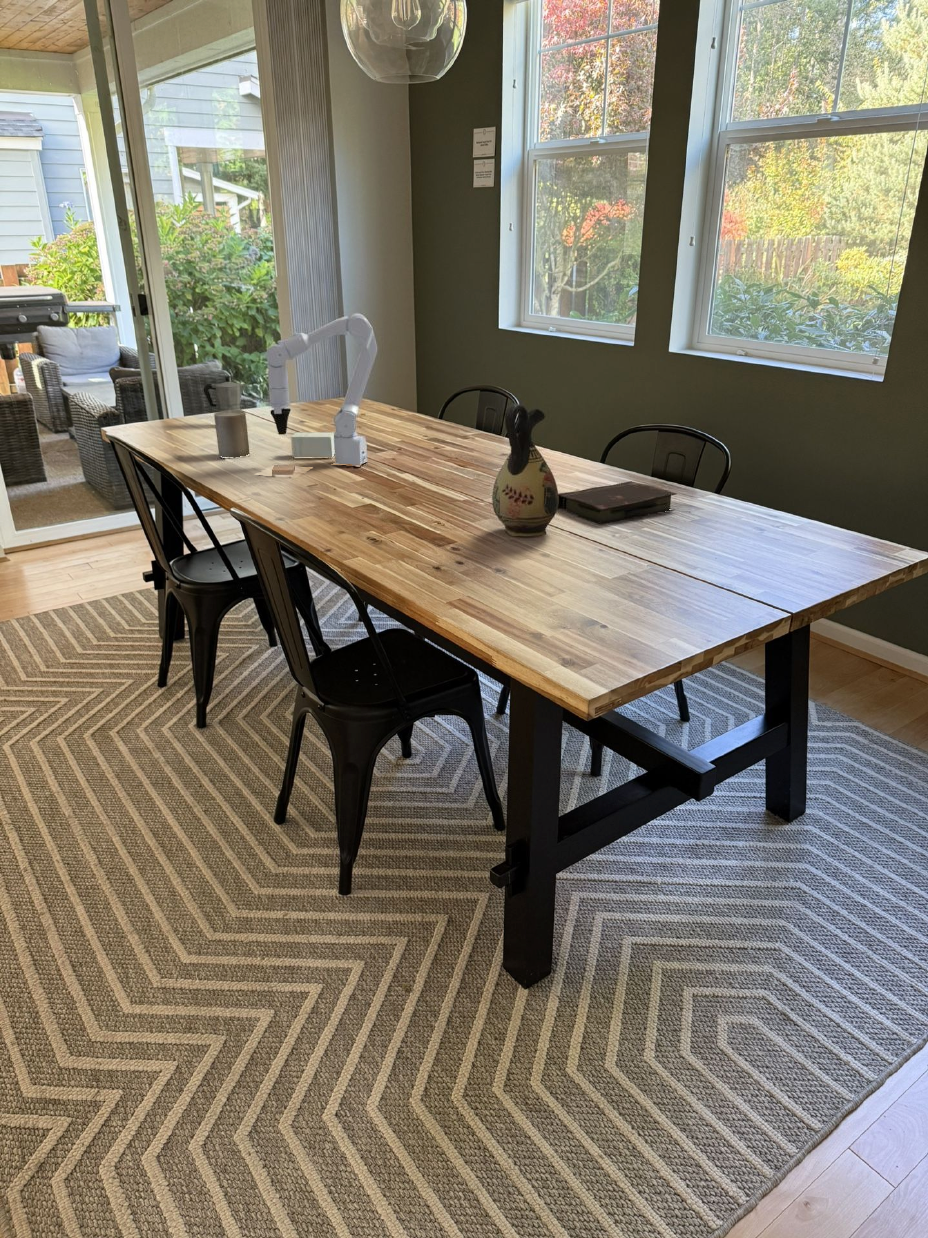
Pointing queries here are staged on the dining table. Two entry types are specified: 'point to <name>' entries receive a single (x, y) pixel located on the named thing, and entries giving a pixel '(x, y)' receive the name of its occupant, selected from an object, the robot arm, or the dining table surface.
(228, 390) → the coffeepot
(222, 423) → the pillar candle
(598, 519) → the diary
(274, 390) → the robot arm
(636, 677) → the dining table surface
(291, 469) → the terracotta tile
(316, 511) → the dining table surface
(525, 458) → the ceramic jug
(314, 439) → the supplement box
